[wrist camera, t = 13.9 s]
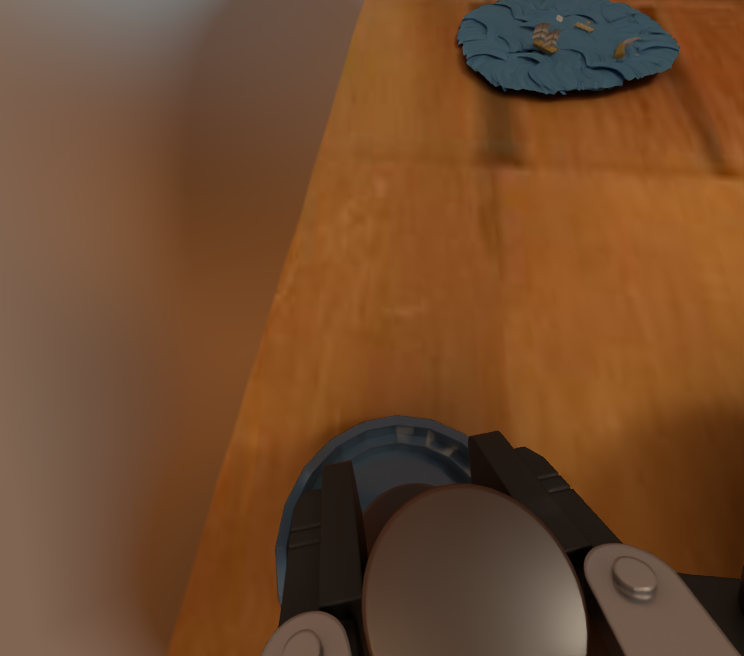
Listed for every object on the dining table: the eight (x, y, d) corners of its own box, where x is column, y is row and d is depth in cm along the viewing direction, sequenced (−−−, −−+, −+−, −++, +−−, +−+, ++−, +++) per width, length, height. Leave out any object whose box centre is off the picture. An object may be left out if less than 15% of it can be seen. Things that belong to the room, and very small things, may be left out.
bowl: (308, 705, 21) (286, 757, 16) (288, 456, 27) (268, 440, 22) (540, 648, 22) (585, 682, 17) (468, 420, 28) (486, 397, 23)
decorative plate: (407, 63, 54) (407, 20, 50) (524, -11, 64) (534, -53, 59) (600, 144, 43) (624, 97, 38) (708, 39, 52) (738, -9, 48)
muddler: (365, 648, 13) (314, 957, 4) (344, 502, 16) (279, 455, 6) (495, 617, 14) (765, 828, 4) (456, 478, 16) (566, 398, 6)
